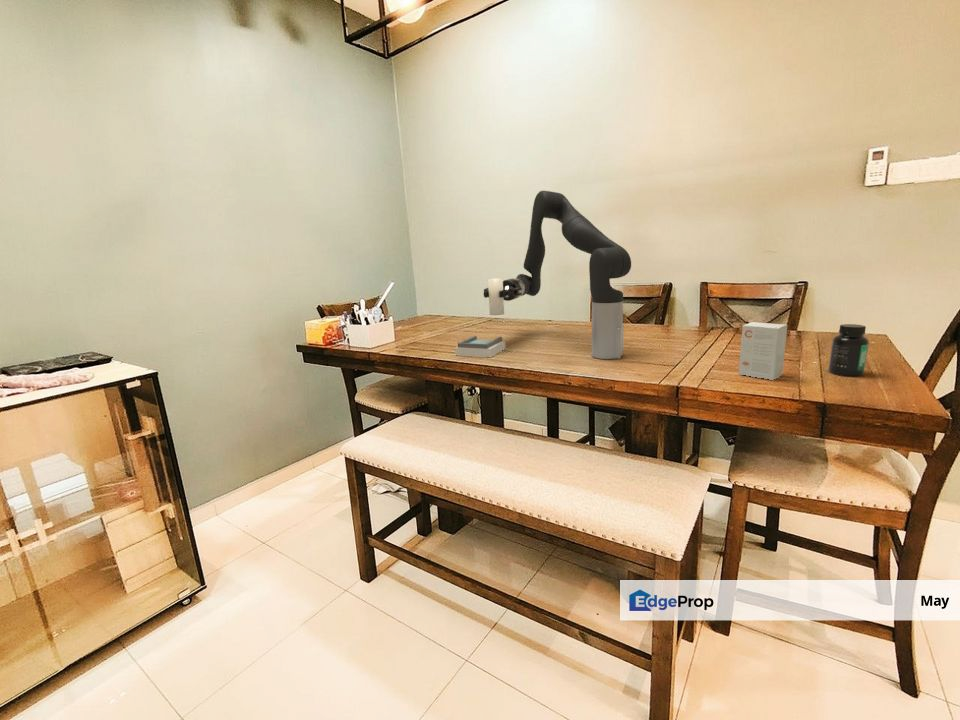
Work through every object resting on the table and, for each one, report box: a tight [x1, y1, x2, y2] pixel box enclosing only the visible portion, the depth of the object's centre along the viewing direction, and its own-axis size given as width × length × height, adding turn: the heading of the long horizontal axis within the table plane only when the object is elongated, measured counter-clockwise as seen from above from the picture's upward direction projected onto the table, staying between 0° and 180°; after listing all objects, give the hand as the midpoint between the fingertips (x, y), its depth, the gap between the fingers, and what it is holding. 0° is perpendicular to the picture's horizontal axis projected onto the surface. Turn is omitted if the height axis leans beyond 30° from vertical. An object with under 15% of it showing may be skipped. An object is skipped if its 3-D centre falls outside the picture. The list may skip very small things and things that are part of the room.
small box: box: [738, 321, 788, 381], centre depth 110 cm, size 8×6×13 cm
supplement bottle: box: [828, 323, 870, 378], centre depth 108 cm, size 7×7×12 cm
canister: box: [487, 277, 505, 316], centre depth 150 cm, size 5×5×12 cm
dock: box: [454, 335, 506, 359], centre depth 153 cm, size 13×13×4 cm
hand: (492, 294), depth 147 cm, fingers closed on canister, 5 cm apart
